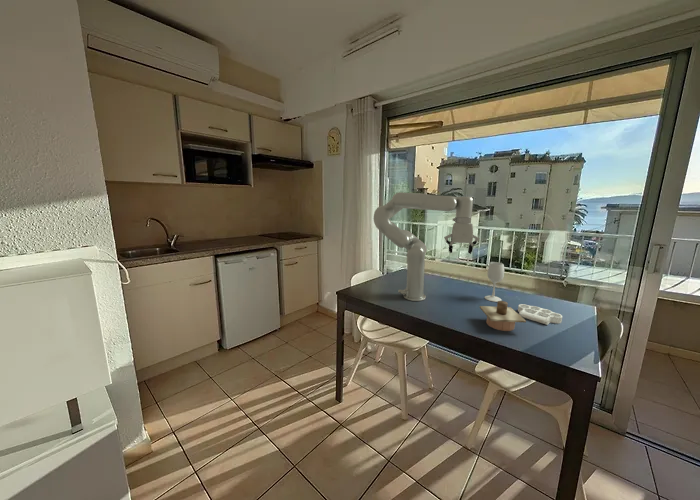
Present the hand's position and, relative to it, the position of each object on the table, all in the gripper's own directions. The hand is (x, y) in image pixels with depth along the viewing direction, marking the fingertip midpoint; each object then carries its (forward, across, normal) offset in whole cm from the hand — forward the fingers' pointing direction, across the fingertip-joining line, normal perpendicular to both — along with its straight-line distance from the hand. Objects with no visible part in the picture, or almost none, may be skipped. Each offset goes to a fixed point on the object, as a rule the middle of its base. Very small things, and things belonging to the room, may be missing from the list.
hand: (460, 252), depth 141 cm
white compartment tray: (+28, +35, -14) cm, 47 cm away
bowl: (+28, +14, -25) cm, 40 cm away
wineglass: (+28, +22, +8) cm, 37 cm away
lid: (+23, +14, -24) cm, 36 cm away
